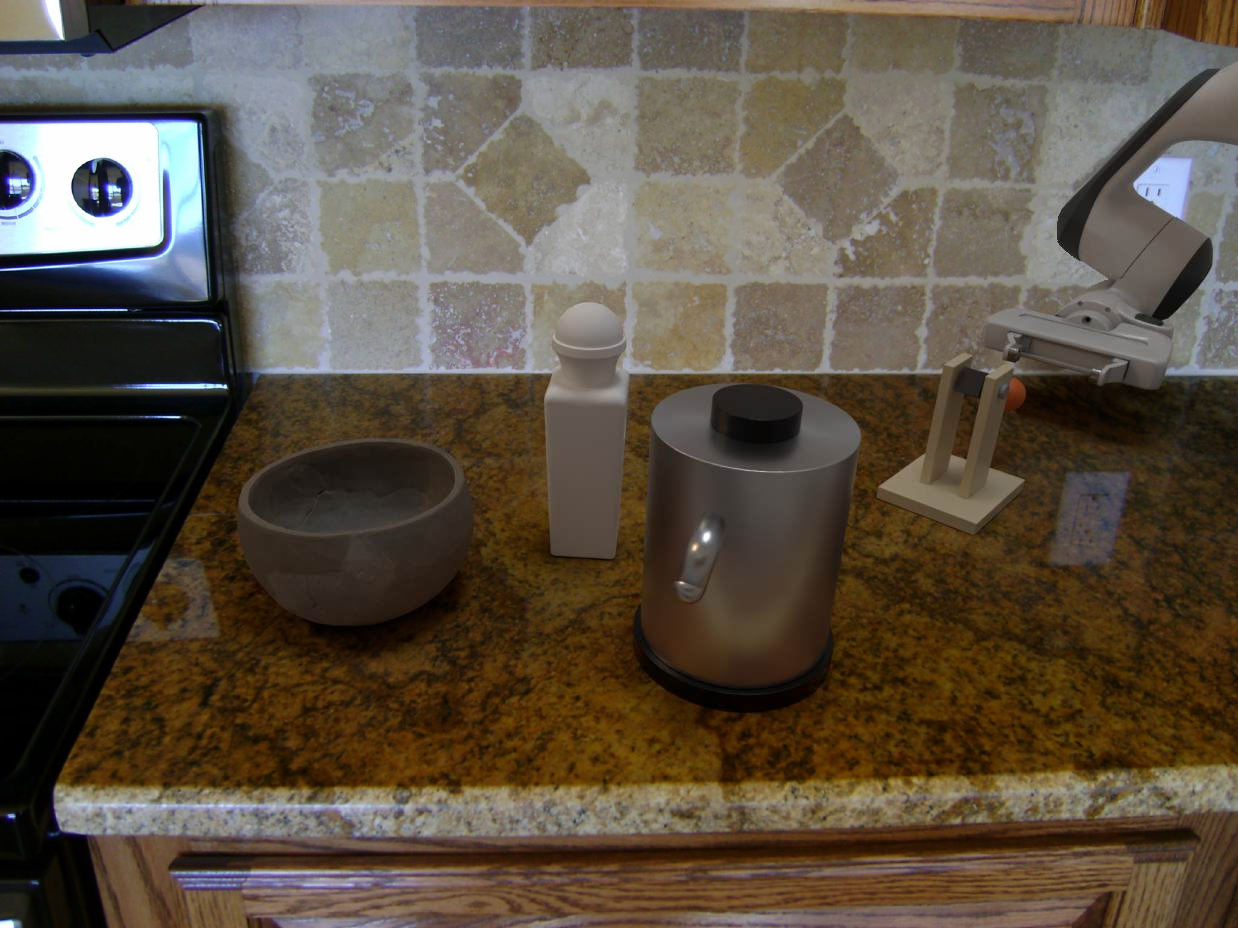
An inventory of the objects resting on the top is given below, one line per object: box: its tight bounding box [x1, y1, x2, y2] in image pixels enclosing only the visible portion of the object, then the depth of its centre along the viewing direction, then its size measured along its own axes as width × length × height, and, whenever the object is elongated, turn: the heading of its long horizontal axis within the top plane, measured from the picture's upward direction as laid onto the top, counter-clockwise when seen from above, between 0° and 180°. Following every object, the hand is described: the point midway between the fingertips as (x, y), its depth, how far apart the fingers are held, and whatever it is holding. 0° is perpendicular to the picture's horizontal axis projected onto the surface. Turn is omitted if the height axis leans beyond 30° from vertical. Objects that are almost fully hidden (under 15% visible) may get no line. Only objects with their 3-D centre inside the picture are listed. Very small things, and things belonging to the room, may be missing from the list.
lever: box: [955, 366, 1027, 413], centre depth 92 cm, size 14×4×4 cm, turn 139°
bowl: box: [236, 437, 475, 627], centre depth 74 cm, size 17×18×10 cm
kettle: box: [632, 382, 862, 713], centre depth 66 cm, size 22×15×20 cm
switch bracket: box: [875, 352, 1026, 536], centre depth 90 cm, size 12×10×14 cm
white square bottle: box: [543, 301, 631, 560], centre depth 78 cm, size 6×6×22 cm
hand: (1051, 366), depth 104 cm, fingers open, 8 cm apart
